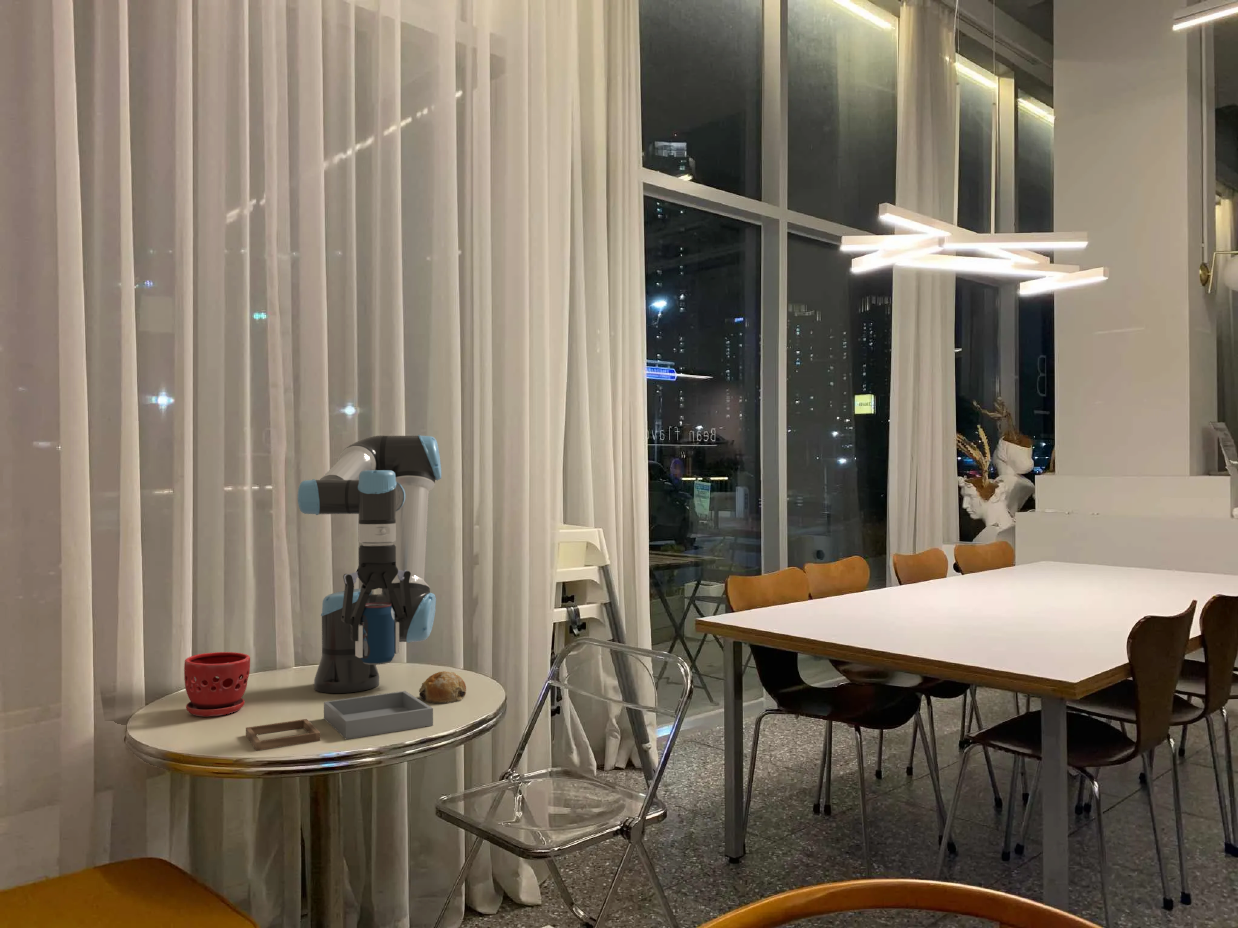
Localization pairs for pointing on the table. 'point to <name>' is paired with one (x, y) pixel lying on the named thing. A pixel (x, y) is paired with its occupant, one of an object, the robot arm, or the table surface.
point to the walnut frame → (284, 741)
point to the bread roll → (443, 688)
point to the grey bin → (377, 714)
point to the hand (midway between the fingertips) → (377, 654)
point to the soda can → (378, 633)
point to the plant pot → (216, 682)
